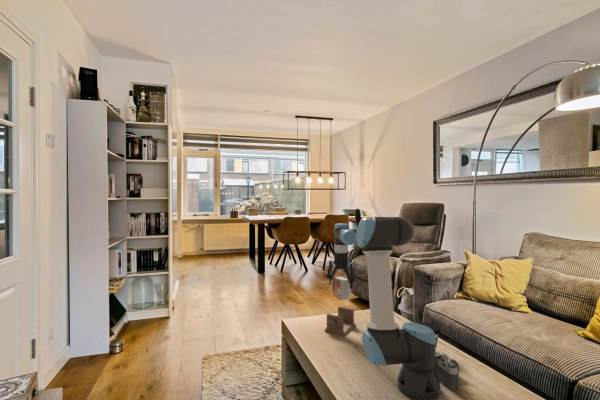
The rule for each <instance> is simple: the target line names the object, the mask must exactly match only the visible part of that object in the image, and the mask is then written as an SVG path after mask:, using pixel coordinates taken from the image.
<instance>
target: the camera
mask: <svg viewBox="0 0 600 400" xmlns="http://www.w3.org/2000/svg"><path fill="white" fill-rule="evenodd" d="M435 370H436V374H437V377H438V380H439V383H440V384H441V385H442V386H444V387H445V388H446V389H448V390H449V391H452V390H455V391H458V390H459V381H460V379H459V378H460V377H459V373H460V365H459V363H458V362H457V361H456V360H455V359H451V358H450V357H449V355H448V354H446V353H445V352H444V351H441V352H438V351H436V362H435ZM457 389H458V390H457Z"/></svg>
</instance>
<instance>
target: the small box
mask: <svg viewBox="0 0 600 400" xmlns="http://www.w3.org/2000/svg"><path fill="white" fill-rule="evenodd" d="M348 283H349V280H348V278H346V277H344V276H336V277H335V276H334V278H333V292H332V296H333V297H334V298H335V299H338V300H339V301H345V300H350V295H348Z"/></svg>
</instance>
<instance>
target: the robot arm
mask: <svg viewBox="0 0 600 400" xmlns="http://www.w3.org/2000/svg"><path fill="white" fill-rule="evenodd" d="M333 233H334V237H333V238H334V239H333V240H334V241H333V242H334V244H333V245H334V247H333V250H334V253H333V254H334V255H333V258H334V260H333V259H332V260H329V261H328V268H327V273H326V279H328V280H329V286H330V292H331V293H333V278H334V277H335V275H336V274H337V272H338V270H342V271H343V272H344V274H345V275H346V279H348V280H349V283H348V295H349V296H351V295H352V289H353V287H354V283H356V282H357V278H356V277H357V276H356V273H355V269H354V268H355V267H354V265H355V264H354V263H353V262H349V246H352V245H355V244H357V246H358V247H359V248H361V249H362V253H363V254H364V255H365V257H366V264H367V265H366V266H367V280H368V281H367V282H368V283H367V284H368V296H369V298H368V300H369V311H370V312H369V313H370V314H369V315H370V321H369V322H368V323H367V324H366V330H364V331H363V332H362V336H361V341H362V342H361V343H362V346H363V350H364V353H365V356H366V358H367V360H368V362H369V363H370V364H372V365H373V366H377V367H378V366H383V367H385V366H391V365H401V364H402V365H401V367H400V370H399V373H398V376H397V388H398V389H399V390H400V391H401V392H402V393H403V394H405V395H406V396H408V397H409V398H413V399H415V400H435V399H438V398H439V397H440V396H441V383H440V382H439V380H438V377H437V374H436V370H435V362H436V352H437V351H436V349H437V346H436V337H435V333H434V331H433V330H432V329H430V328H429V327H427V326H424V325H421V324H418V323H419V322H410V321H408V322H407V321H406V322H404V323H403V324H402V328H400V325H399V324H398V323H397V322H396V321H395V313H394V301H393V300H394V299H393V288H392V286H393V285H392V273H391V260H390V256H391V255H392V253H393V252H394V247H403V246H405V245H408V244H410V243H411V242H412V241H413V240H414V238H415V235H416V230H415V227H414V224H413V223H412V222H411V221H410V220H408V219H407V218H405V217H402V216H369V217H363V218H362V219H360V221H359V223H358V225H357V228H349V224H348V223H341V222H339V223H335V224H334V229H333ZM333 266H334V268H333ZM348 267H349V268H348Z"/></svg>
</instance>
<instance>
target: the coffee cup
mask: <svg viewBox="0 0 600 400" xmlns="http://www.w3.org/2000/svg"><path fill="white" fill-rule="evenodd" d="M417 323H418V324H421V325H424V326H427V327H429V328H430V329H432V330H433V331H434V333H435V337H436V347H437V345H438V339H439V334H440V333H441V332H440V331H441V329H439V326H437V325H436V324H433V323H431V322H417Z"/></svg>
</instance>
